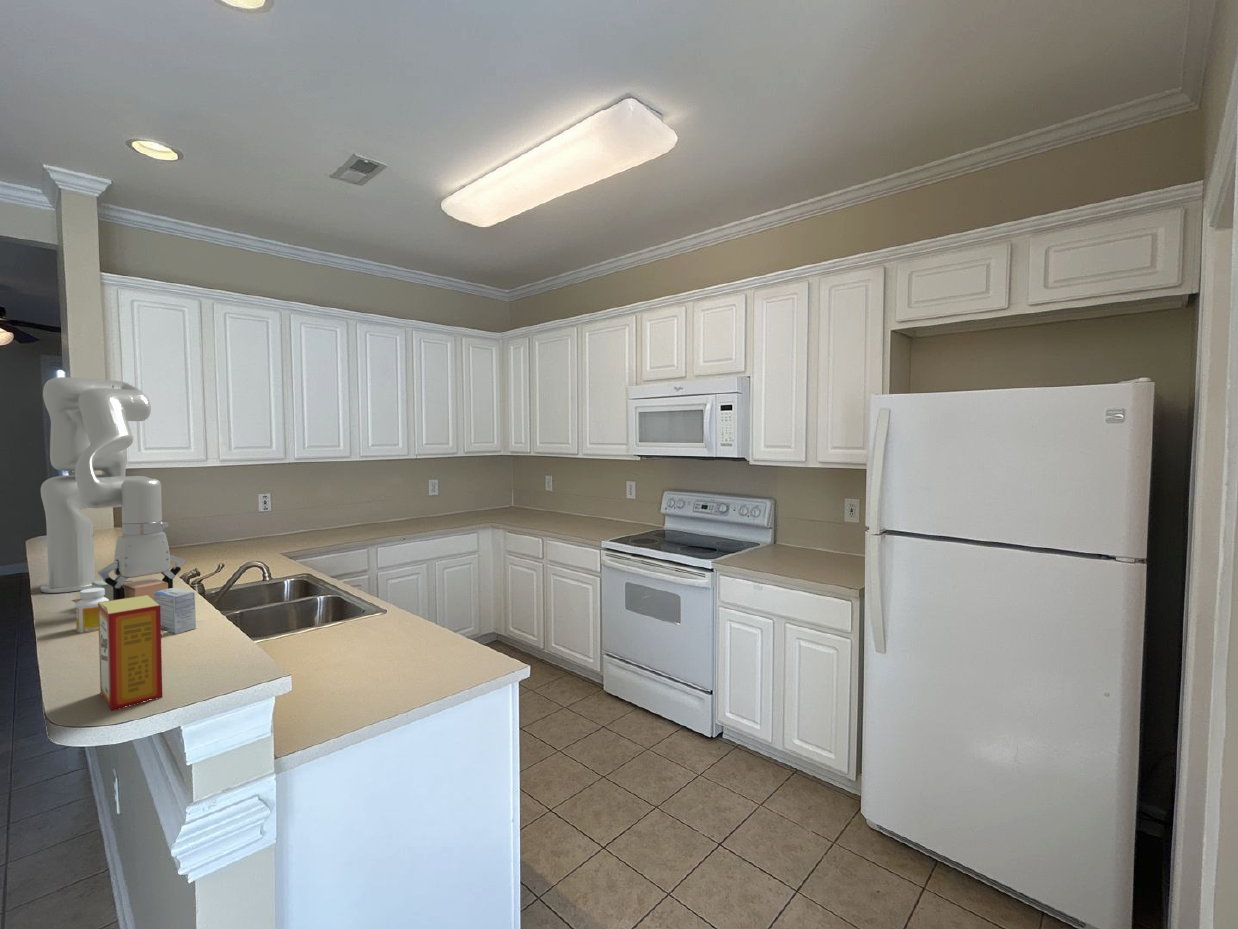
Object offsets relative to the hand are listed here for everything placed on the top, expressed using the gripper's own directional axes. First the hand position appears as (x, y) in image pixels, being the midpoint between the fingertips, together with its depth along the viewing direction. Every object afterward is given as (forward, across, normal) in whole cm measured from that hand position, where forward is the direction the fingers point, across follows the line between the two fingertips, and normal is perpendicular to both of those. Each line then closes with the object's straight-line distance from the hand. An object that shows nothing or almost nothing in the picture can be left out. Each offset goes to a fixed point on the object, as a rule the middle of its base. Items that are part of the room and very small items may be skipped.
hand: (144, 598), depth 142 cm
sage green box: (+2, +4, -8) cm, 9 cm away
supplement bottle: (+4, +12, +9) cm, 16 cm away
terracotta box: (+2, 0, 0) cm, 2 cm away
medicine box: (+4, +2, +20) cm, 21 cm away
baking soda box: (+4, +20, +52) cm, 56 cm away
